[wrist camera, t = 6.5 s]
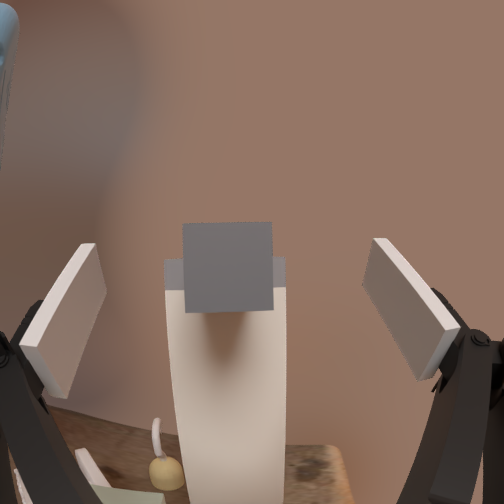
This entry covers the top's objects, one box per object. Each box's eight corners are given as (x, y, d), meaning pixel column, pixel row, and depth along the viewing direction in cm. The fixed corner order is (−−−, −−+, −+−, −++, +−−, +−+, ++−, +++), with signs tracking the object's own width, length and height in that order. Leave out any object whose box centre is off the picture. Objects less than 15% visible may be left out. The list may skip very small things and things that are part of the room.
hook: (152, 470, 40) (140, 410, 40) (184, 471, 41) (175, 410, 41) (149, 493, 34) (134, 430, 34) (184, 494, 35) (173, 431, 35)
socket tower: (206, 570, 20) (163, 259, 21) (206, 499, 34) (185, 257, 34) (279, 566, 21) (285, 257, 21) (263, 496, 35) (259, 256, 35)
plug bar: (185, 312, 12) (182, 223, 12) (205, 277, 32) (204, 242, 32) (273, 310, 13) (271, 222, 13) (240, 276, 33) (239, 241, 33)
